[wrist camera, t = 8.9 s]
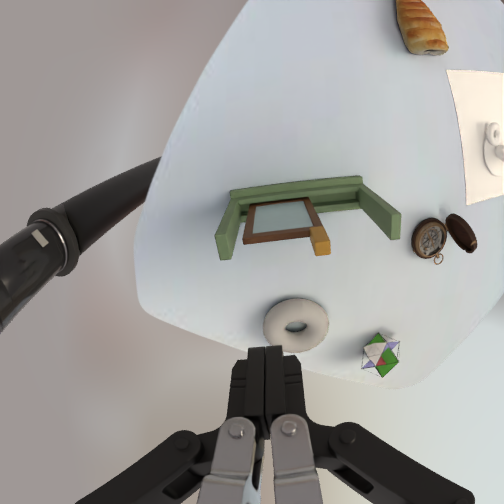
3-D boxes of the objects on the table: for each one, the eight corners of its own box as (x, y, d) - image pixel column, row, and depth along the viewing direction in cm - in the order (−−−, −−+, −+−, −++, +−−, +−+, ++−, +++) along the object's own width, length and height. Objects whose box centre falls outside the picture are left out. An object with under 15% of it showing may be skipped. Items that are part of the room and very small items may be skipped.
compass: (403, 234, 34) (427, 258, 28) (443, 202, 32) (473, 221, 25) (422, 272, 37) (443, 299, 30) (458, 243, 34) (484, 266, 28)
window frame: (236, 220, 35) (222, 269, 24) (230, 190, 33) (212, 226, 23) (361, 206, 33) (399, 247, 22) (360, 175, 31) (401, 204, 21)
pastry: (380, -4, 20) (391, -14, 16) (420, -2, 18) (432, -10, 15) (407, 57, 24) (421, 52, 20) (444, 56, 22) (460, 52, 19)
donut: (269, 345, 45) (329, 337, 43) (268, 361, 42) (332, 352, 40) (257, 299, 40) (325, 288, 39) (255, 314, 37) (328, 303, 36)
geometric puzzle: (410, 344, 41) (405, 365, 35) (386, 369, 44) (377, 391, 37) (382, 320, 44) (373, 338, 38) (359, 346, 47) (346, 366, 40)
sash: (250, 211, 33) (240, 265, 21) (249, 201, 32) (238, 251, 21) (309, 203, 32) (332, 254, 21) (308, 194, 32) (331, 240, 20)
